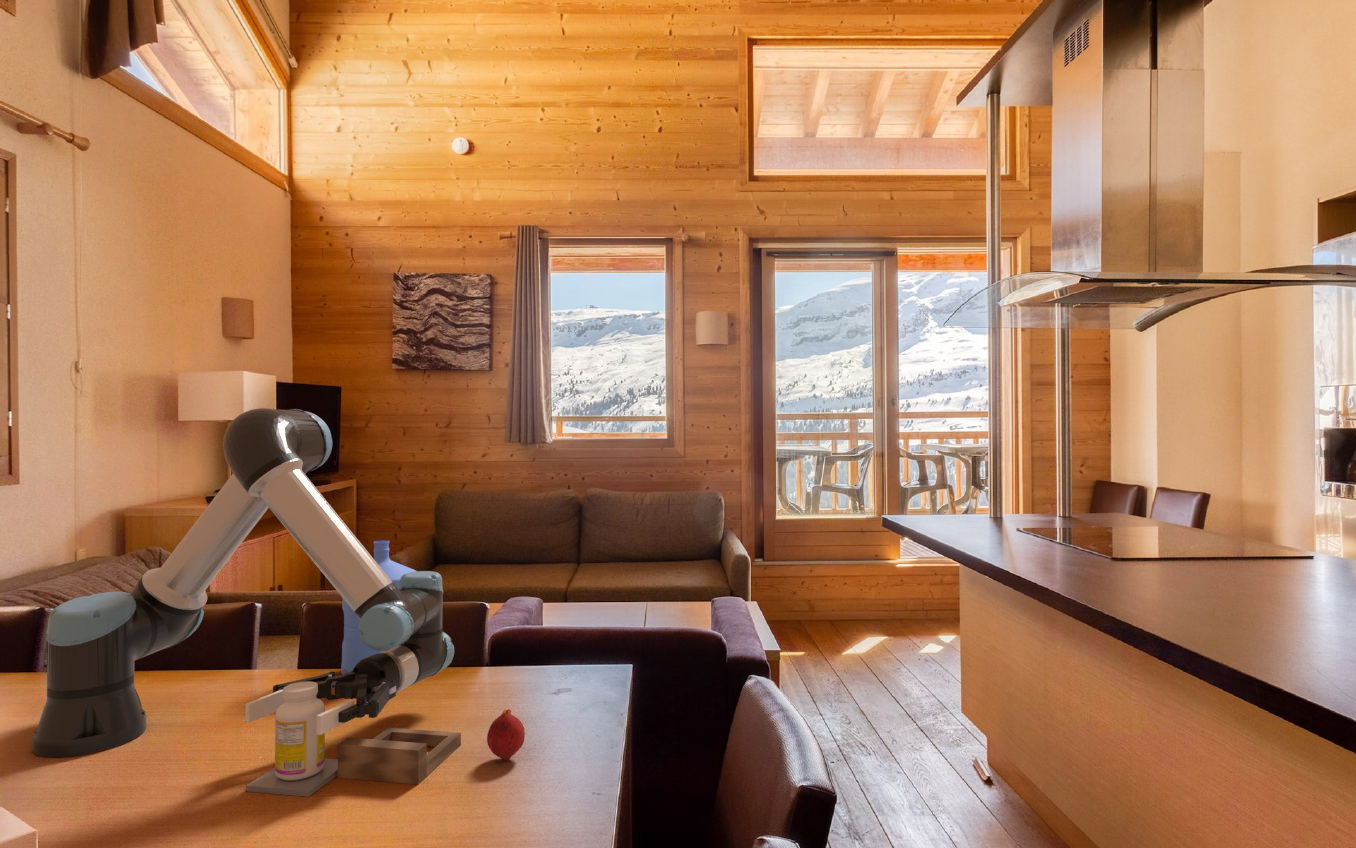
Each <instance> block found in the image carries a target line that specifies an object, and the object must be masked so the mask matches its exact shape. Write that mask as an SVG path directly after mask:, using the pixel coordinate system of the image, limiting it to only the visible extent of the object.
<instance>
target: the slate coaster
mask: <svg viewBox="0 0 1356 848" xmlns="http://www.w3.org/2000/svg"><path fill="white" fill-rule="evenodd" d="M336 777H338V758H325V760H324V767H323V769H322V770H321V771H320V772H318V773H317V774H315V775H313V776H310V777H308V778H304V779H300V780H292V781H289V780H282V779H280V778H278V777H277V776H276V774H275V766H274V767H273V768H272V769H270V770H269V769H268V771H266V772H265V773H264V774H262V775H260V776H259V777H257V778H256V779H253V781H250V782H249V783H247V784H246V785H245V791H246V792H251V793H262V794H273V795H275V794H276V795H285V796H295V797H306V798H309V797H311V795H313V794H314V793H315V792H317V791H319V789H322V788H323V787H324V786H325V785H327V784H328V783H329V782H330V781H332V780H333V779H335V778H336Z"/></svg>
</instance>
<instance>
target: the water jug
mask: <svg viewBox="0 0 1356 848" xmlns="http://www.w3.org/2000/svg"><path fill="white" fill-rule="evenodd" d="M389 544H390V540H375V541H373V545H374V547H373V559H374V560H375V561H376V562H377V564H378V565H379V566H380V567H381V569H382V570H383V571H384V572H385V573H386V575H387V576H388V577H389V578H390V580H391V581H392V582H393V583H394V585H395V586H396V587H397V588H398V589H399V587H400V579H401V577H402V576H403V575H404V574H406V573H410V572H418V570H415V569H413V568H411V567H408V566H406V565H403V564H400V563H398V562H397V561H394V560H392V559H391V558H390V547H389V546H390V545H389ZM341 598H342V602H341V603H342V604H341V605H342V607H341V608H342V610H343V618H344V619H343V624H344V625H343V640H342V644H341V649H342V650H341V663H340V666H341V668H340V670H341V671H340V672H341V675H343V674H344V673H349V672H352V671H353V669H354V667H355V666H356V664H357V663H358V662H359V661H361V660H362V659H364V658H367V657H369V656H372V655H374V654H377V653H379V652H381V651H378V650H374V649H372V648H370V647H368V646H367V645H365V644H364V642H363V641H362V639H361V637H360V633H359V622H360V619H359V618H358V616H357V615H356V614H355V612H354V611H353V610H352V608H351V607H350V606H349V605H348V603H347V602H346V601H345V600H344V599H343V597H342V596H341Z"/></svg>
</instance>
